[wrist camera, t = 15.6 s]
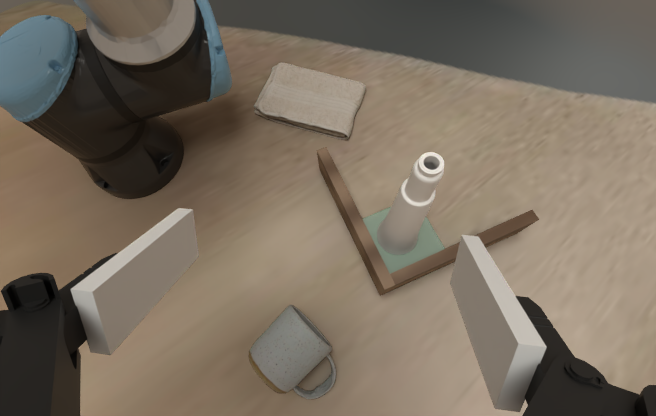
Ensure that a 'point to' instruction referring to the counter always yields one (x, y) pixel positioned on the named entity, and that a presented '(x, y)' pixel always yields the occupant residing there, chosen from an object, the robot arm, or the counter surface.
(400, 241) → the cosmetic bottle
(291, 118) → the washcloth
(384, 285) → the walnut corner walls
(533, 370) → the robot arm
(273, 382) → the ceramic mug
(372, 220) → the mat
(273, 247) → the counter surface
